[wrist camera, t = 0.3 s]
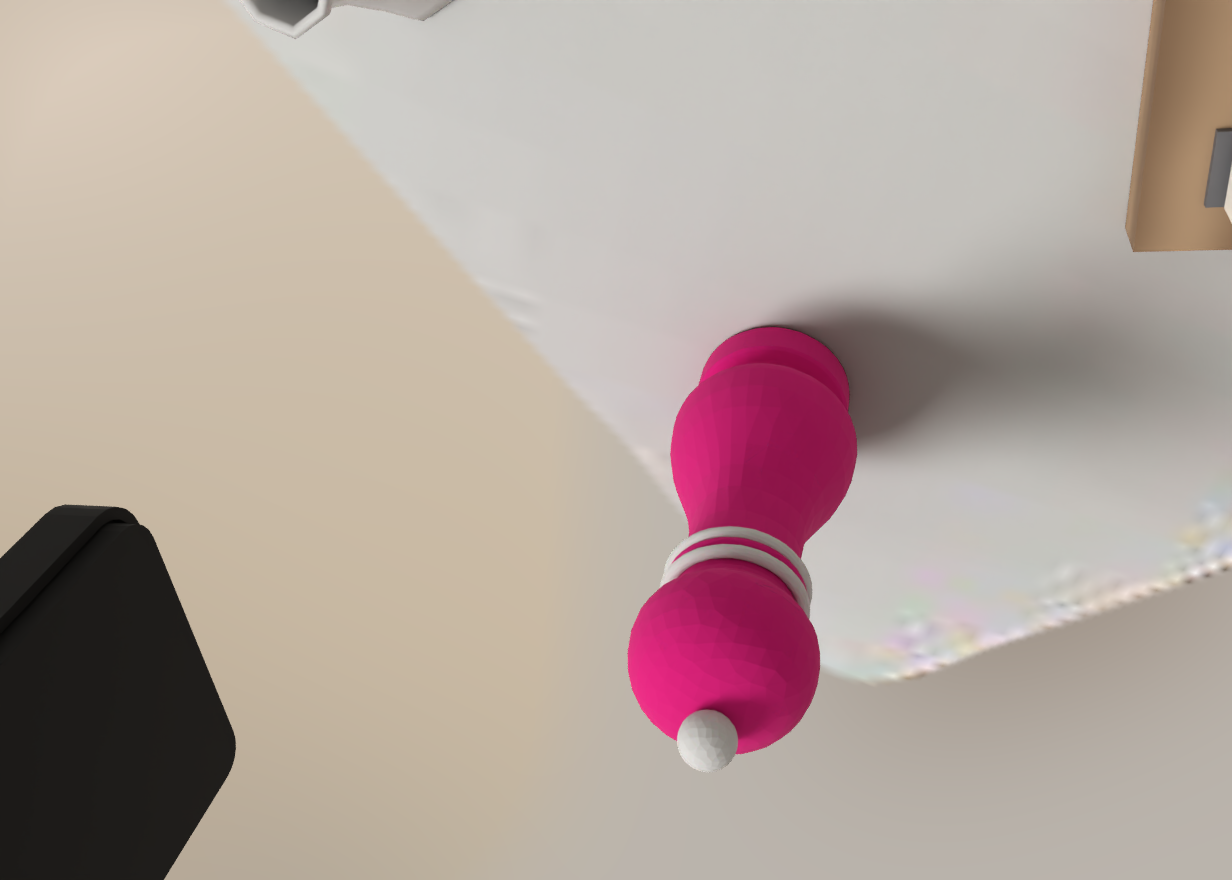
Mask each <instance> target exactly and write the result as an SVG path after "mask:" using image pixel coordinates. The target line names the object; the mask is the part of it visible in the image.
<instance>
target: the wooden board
mask: <svg viewBox="0 0 1232 880" xmlns="http://www.w3.org/2000/svg"><path fill="white" fill-rule="evenodd" d="M1231 165H1232V0H1153V7H1152V15H1151V24H1150V32H1149V40H1148V48H1147V56H1146V64H1145V72H1144V80H1143V88H1142V96H1141V104H1140V112H1139V121H1138V129H1137V137H1136V145H1135V153H1134V161H1133V169H1132V177H1131V185H1130V193H1129V201H1128V209H1127V218H1126V226H1125V228H1126V231H1127V234H1128V237H1129V240H1130V244H1131V247H1132V250H1133V252H1148V251H1191V250H1232V223H1231V221H1230V219H1229V217H1228V215H1227V213H1226V211H1225V209H1224V206H1225V200H1226V194H1227V189H1228V183H1229V177H1230V171H1231Z"/></svg>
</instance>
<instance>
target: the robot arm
mask: <svg viewBox="0 0 1232 880" xmlns="http://www.w3.org/2000/svg"><path fill="white" fill-rule="evenodd" d="M235 744H236V742H235V736H234V732H233V730H232V727H231V724H230V722H229V720H228V717H227V715H226V712H225V710H224V707H223V705H222V703H221V700H220V698H219V695H218V693H217V691H216V688H215V685H214V683H213V681H212V678H211V676H210V673H209V671H208V669H207V666H206V664H205V661H204V659H203V657H202V654H201V651H200V649H199V647H198V645H197V642H196V639H195V637H194V635H193V632H192V630H191V628H190V625H189V622H188V620H187V618H186V615H185V613H184V610H183V608H182V605H181V603H180V601H179V598H178V596H177V593H176V591H175V588H174V586H173V584H172V581H171V579H170V576H169V574H168V571H167V569H166V567H165V564H164V562H163V559H162V557H161V555H160V552H159V550H158V547H157V545H156V542H155V540H154V538H153V536H152V534H151V533H150V531H149V530H148V529H147V528H146V527H144V526H143V525H140V524H139V523H138V521H137V520H136V518H135V516H134V515H133V514H132V513H130V512H129V511H128V510H126V509H124V508H119V507H107V506H106V507H105V506H84V505H62V506H58V507H55V508H53V509H52V510H50V511H49V512H48V513H46V514H45V515H44V516H43V517H42V518H41V519H40V520H39V521H38V522H37V523H36V524H35V525H34V526H33V527H32V528H31V529H30V530H29V531H28V532H27V533H26V534H25V535H24V536H23V537H22V538H21V539H19V541H17V542H16V543H15V544H14V545H13V546H12V547H11V548H10V549H9V550H8V551H7V552H6V553H5V554H4V555H3V556H2V557H1V558H0V880H164V878H165V877H166V875H167V874H168V872H169V870H170V868H171V867H172V865H173V864H174V862H175V861H176V859H177V857H178V856H179V854H180V852H181V851H182V849H183V848H184V846H185V844H186V843H187V841H188V840H189V838H190V836H191V835H192V833H193V832H194V830H195V828H196V827H197V825H198V823H199V822H200V820H201V819H202V817H203V815H204V813H205V812H206V810H207V809H208V807H209V806H210V804H211V802H212V801H213V799H214V797H215V796H216V794H217V793H218V791H219V789H220V788H221V786H222V785H223V783H224V781H225V780H226V778H227V776H228V774H229V772H230V770H231V768H232V765H233V761H234V758H235V750H236V745H235Z"/></svg>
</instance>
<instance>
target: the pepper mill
mask: <svg viewBox="0 0 1232 880" xmlns="http://www.w3.org/2000/svg"><path fill="white" fill-rule="evenodd" d="M849 395H850V394H849V383H848V380H847V376H846V374H845V371H844V369H843V367H842V366H841V364H840V362H839V361H838V359H837V358H836V357H835V356H834V354H833V353H832V352H831V351H830V350H829V349H828V348H827V347H826V346H824V345H823V344H822V343H820V342H819V341H817V340H815V339H814V338H812V337H810V336H808V335H806V334H803V333H801V332H798V331H794V330H790V329H785V328H779V327H765V328H756V329H752V330H748V331H744V332H741V333H739V334H737V335H735V336H733V337H731V338H729V339H728V340H726V341H725V342H723V343H722V344H721V345H720V346H718V347H717V349H716V350H715V351H714V352H713V353H712V354H711V356H710V357H709V359H708V361H707V363H706V365H705V367H704V369H703V372H702V375H701V379H700V382H699V385H698V387H696V388H695V389H694V390H693V391H692V392H691V393H690V394H689V396H688V397H687V399H686V400H685V402H684V403H683V405H682V407H681V409H680V411H679V413H678V415H677V417H676V421H675V425H674V429H673V436H672V442H671V453H670V455H671V465H672V472H673V479H674V483H675V487H676V490H677V493H678V496H679V498H680V501H681V503H682V506H683V508H684V511H685V514H686V516H687V519H688V524H689V537H688V538H686V539H685V540H683V541H682V542H681V543H680V544H679V545H678V546H677V547H676V548H674V550H673V551H672V553H671V554H670V556H669V558H668V560H667V562H666V565H665V569H664V576H663V578H662V580H661V583H660V588H659V590H657V592H655V593H654V594H653V595H652V596H651V597H650V598H649V599H648V601H647V602H646V603H645V604H644V605H643V607H642V608H641V610H640V612H639V614H638V616H637V619H636V621H635V623H634V626H633V628H632V630H631V636H630V642H629V648H628V672H629V677H630V681H631V686H632V690H633V692H634V694H635V696H636V699H637V701H638V703H639V705H640V707H641V709H642V710H643V712H644V713H645V714H646V715H647V717H648V718H649V719H650V721H651V722H652V723H653V724H654V725H655V726H657V727H658V728H659V729H660V730H661V731H662V732H664V733H665V734H666V735H667V736H669V737H671V738H673V739H674V740H676V741H677V744H678V750H679V752H680V754H681V756H682V758H683V760H684V761H685V762H686V763H687V764H688V765H689V766H691V767H692V768H694V769H696V770H699V771H702V772H714V771H718V770H720V769H722V768H724V767H725V766H727V765H728V764H729V763H730V762H731V761H732V758H733V757H734V755H735V754H744V753H748V752H752V751H755V750H759V749H762V748H765V747H767V746H769V745H771V744H772V743H774V742H776V741H777V740H779V739H781V738H782V737H783V736H785V735H786V734H787V733H789V732H790V731H791V730H792V729H793V728H794V727H795V726H796V725H797V724H798V723H799V721H800V720H801V719H802V717H803V715H804V714H805V712H806V710H807V709H808V707H809V706H810V704H811V701H812V699H813V696H814V694H815V691H816V687H817V684H818V678H819V671H820V651H819V645H818V639H817V635H816V633H815V630H814V627H813V625H812V623H811V622H810V620H809V617H810V603H811V599H812V582H811V579H810V575H809V573H808V570H807V568H806V566H805V565H804V563H803V562H802V560H801V556H802V551H803V546H804V544H805V542H806V541H807V540H808V539H809V538H810V537H811V536H812V535H813V534H814V533H815V532H816V531H818V530H819V529H820V528H821V527H822V526H823V525H824V524H825V523H826V522H827V521H828V520H829V519H830V518H831V516H832V515H833V514H834V512H835V511H836V509H837V508H838V506H839V505H840V503H841V502H842V500H843V499H844V497H845V495H846V493H847V491H848V488H849V486H850V484H851V481H852V477H853V472H854V468H855V463H856V458H857V438H856V432H855V429H854V426H853V423H852V420H851V417H850V415H849V414H848V408H849Z"/></svg>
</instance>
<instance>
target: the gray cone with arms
mask: <svg viewBox="0 0 1232 880" xmlns="http://www.w3.org/2000/svg"><path fill="white" fill-rule="evenodd" d="M239 1H240V2H241V4H242V5H243V6H244V8H245V9H246V10H247V12H248V13H249V14H250V16H251V17H252V18H253V20H254V21H255V22H257V23H259V24H261V25H264V26H266V27H268V28H271V29H273V30H275V31H278V32H280V33H282V34H285V35H287V36H289V37H292V38H294V39H296V38H298V37H300V36H301V35H302V34H304V33H305V32H306V31H308V30H309V29H310V28H312V27H313V26H315V25H316V24H317V23H319V22H320V21H321V20H323V19H324V18H325V17H327V16H328V15H329V14H330V12H331V8H334V7H339V6H344V5H350V6H356V7H362V8H368V9H374V10H379V11H385V12H388V13H392V14H396V15H400V16H404V17H408V18H411V19H416V20H422V21H424V20H426V19H427V18H429V17H430V16H431V15H433V14H434V13H436V12H437V11H439V10H440V9H441V8H443V7H444V6H446V5H447V4H449V3H450V2H451V1H453V0H239Z"/></svg>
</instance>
